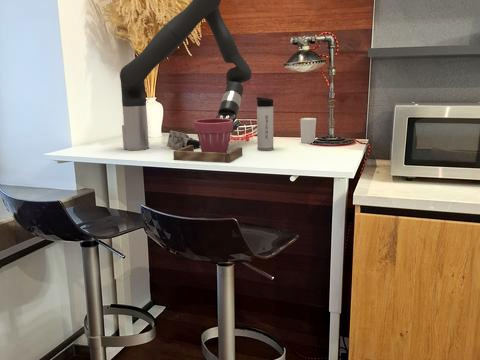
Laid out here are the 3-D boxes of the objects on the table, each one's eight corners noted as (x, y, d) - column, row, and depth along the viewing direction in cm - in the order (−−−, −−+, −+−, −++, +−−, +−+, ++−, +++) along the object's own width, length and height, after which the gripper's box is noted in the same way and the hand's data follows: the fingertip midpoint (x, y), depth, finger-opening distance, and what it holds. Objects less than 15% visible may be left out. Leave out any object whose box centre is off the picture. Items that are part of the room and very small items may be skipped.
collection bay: (173, 159, 160) (173, 151, 159) (190, 152, 172) (189, 145, 171) (229, 162, 153) (229, 153, 152) (242, 155, 165) (242, 147, 164)
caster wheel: (201, 152, 186) (190, 153, 177) (177, 146, 190) (166, 146, 180) (205, 137, 185) (194, 136, 176) (181, 130, 189) (169, 129, 179)
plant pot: (226, 159, 159) (225, 122, 155) (189, 157, 163) (187, 122, 160) (238, 152, 172) (238, 118, 169) (204, 150, 176) (202, 117, 173)
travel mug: (261, 147, 181) (261, 96, 176) (276, 148, 178) (276, 97, 173) (253, 150, 176) (253, 97, 171) (268, 151, 172) (268, 98, 168)
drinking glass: (314, 144, 186) (314, 119, 184) (298, 143, 189) (298, 119, 186) (317, 141, 193) (317, 118, 190) (301, 141, 195) (301, 117, 192)
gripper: (211, 99, 179) (200, 134, 170) (243, 99, 174) (233, 135, 166) (217, 111, 185) (206, 146, 177) (248, 111, 181) (238, 147, 172)
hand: (219, 140), depth 171 cm, fingers closed
